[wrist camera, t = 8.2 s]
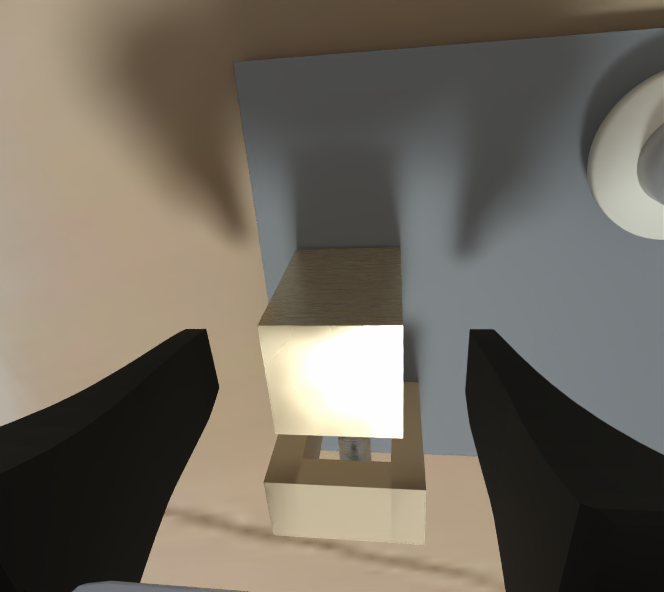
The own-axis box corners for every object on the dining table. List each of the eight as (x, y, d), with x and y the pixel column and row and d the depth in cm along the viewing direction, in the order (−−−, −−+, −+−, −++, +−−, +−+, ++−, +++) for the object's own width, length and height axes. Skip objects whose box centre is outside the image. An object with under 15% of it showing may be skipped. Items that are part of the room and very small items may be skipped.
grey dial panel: (658, 448, 19) (756, 595, 14) (293, 435, 21) (261, 559, 16) (801, 16, 12) (1095, -8, 7) (240, 61, 14) (154, 67, 9)
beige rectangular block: (401, 454, 20) (403, 572, 15) (318, 451, 20) (297, 564, 16) (400, 247, 15) (402, 325, 11) (295, 249, 16) (257, 325, 11)
